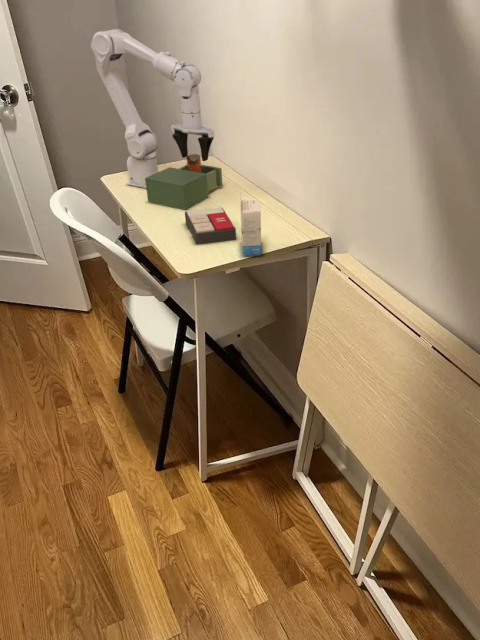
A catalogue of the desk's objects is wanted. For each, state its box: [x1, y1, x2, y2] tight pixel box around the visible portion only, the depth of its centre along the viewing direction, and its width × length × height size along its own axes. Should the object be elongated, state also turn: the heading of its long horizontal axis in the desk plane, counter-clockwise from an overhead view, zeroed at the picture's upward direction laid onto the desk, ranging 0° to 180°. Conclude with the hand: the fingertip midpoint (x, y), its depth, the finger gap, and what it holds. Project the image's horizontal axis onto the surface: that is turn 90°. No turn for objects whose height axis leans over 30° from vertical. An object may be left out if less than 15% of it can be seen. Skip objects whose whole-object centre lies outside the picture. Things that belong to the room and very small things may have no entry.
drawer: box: [178, 162, 223, 193], centre depth 183 cm, size 15×13×6 cm
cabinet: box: [145, 166, 209, 211], centre depth 175 cm, size 12×14×7 cm
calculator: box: [184, 206, 237, 245], centre depth 156 cm, size 11×4×15 cm
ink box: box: [239, 188, 262, 257], centre depth 143 cm, size 9×5×15 cm, turn 5°
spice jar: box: [185, 153, 203, 173], centre depth 180 cm, size 4×4×8 cm
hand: (194, 158), depth 178 cm, fingers open, 7 cm apart
